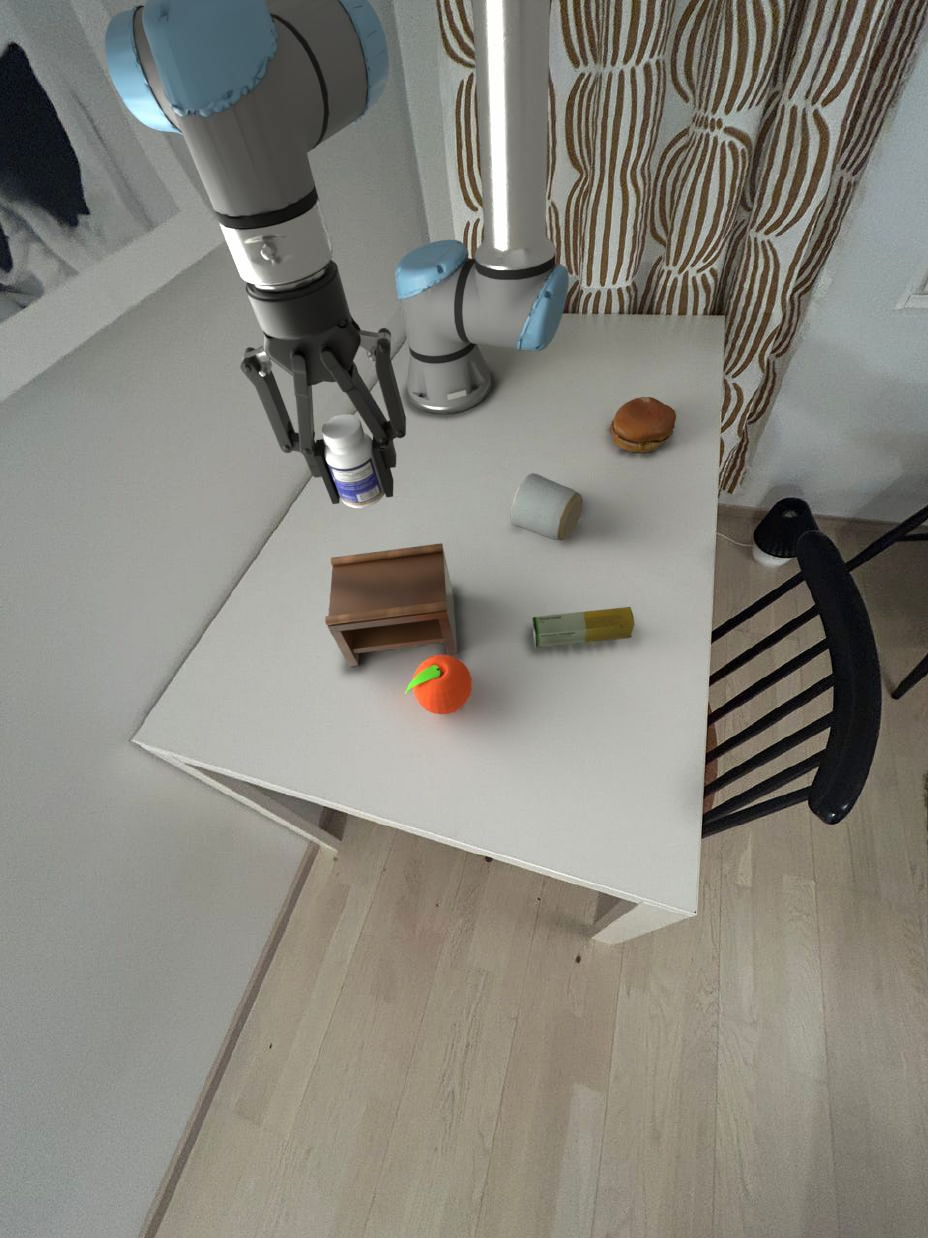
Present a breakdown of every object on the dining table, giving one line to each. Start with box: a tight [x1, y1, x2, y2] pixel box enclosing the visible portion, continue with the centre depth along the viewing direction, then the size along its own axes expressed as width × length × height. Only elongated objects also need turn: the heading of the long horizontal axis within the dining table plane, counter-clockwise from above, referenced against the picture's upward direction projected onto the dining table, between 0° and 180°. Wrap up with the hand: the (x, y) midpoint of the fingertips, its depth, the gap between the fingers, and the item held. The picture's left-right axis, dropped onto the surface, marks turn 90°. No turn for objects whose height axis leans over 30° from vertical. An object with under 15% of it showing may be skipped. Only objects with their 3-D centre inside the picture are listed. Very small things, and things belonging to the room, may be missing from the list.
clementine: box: [404, 654, 473, 715], centre depth 68 cm, size 8×7×7 cm
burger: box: [610, 396, 677, 454], centre depth 92 cm, size 10×9×5 cm
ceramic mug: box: [510, 473, 584, 541], centre depth 82 cm, size 11×8×8 cm
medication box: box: [531, 606, 635, 649], centre depth 72 cm, size 12×3×4 cm, turn 92°
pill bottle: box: [321, 413, 385, 509], centre depth 61 cm, size 5×5×9 cm
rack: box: [324, 542, 458, 667], centre depth 73 cm, size 10×14×10 cm
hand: (363, 491), depth 65 cm, fingers closed on pill bottle, 5 cm apart
